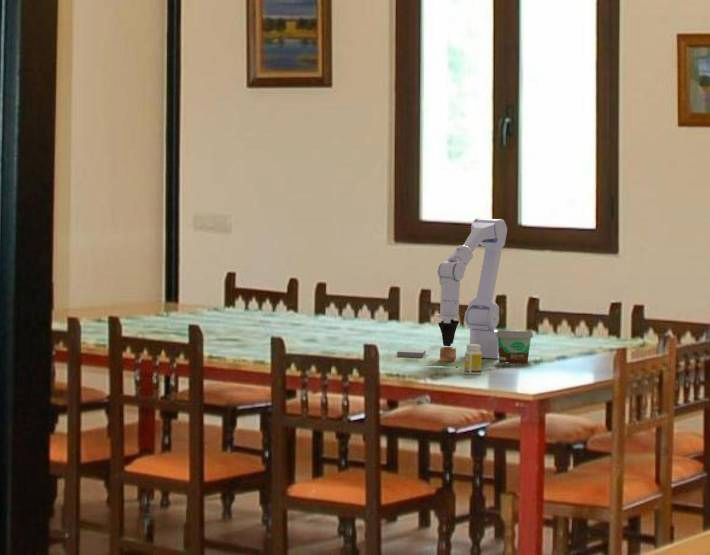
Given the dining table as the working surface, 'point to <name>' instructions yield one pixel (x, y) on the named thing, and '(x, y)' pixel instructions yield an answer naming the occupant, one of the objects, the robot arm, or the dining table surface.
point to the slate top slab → (410, 353)
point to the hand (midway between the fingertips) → (448, 344)
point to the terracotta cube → (447, 353)
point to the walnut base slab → (414, 357)
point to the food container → (514, 346)
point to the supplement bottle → (473, 359)
